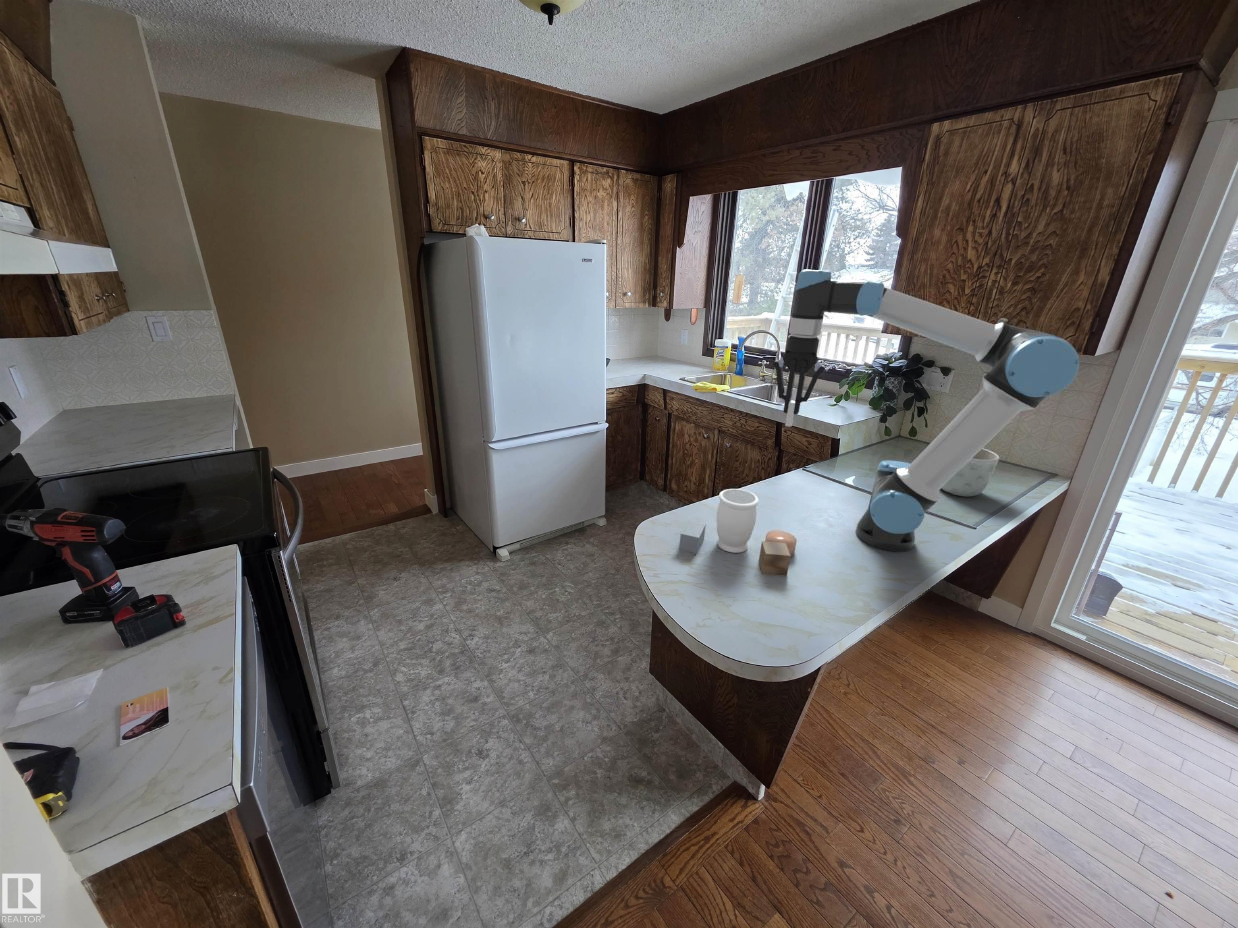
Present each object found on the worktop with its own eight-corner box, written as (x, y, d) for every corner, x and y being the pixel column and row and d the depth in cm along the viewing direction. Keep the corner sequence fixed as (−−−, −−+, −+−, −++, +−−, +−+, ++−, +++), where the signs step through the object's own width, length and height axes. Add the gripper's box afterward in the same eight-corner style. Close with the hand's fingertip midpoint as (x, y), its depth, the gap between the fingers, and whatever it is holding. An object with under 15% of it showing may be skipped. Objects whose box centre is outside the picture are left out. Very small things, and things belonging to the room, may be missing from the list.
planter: (977, 506, 167) (991, 464, 161) (922, 489, 179) (934, 449, 173) (991, 493, 178) (1005, 453, 172) (939, 478, 189) (950, 440, 184)
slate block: (704, 540, 140) (705, 524, 139) (697, 553, 134) (699, 537, 132) (686, 536, 142) (688, 520, 140) (679, 549, 135) (680, 533, 133)
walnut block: (782, 562, 131) (785, 543, 129) (786, 576, 125) (790, 555, 123) (758, 560, 131) (761, 541, 129) (762, 574, 126) (765, 553, 123)
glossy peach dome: (796, 547, 138) (798, 534, 137) (792, 561, 132) (794, 548, 130) (766, 540, 142) (768, 527, 140) (761, 553, 135) (763, 540, 133)
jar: (752, 558, 132) (760, 507, 127) (712, 552, 134) (718, 502, 128) (750, 538, 142) (757, 490, 136) (713, 533, 144) (719, 486, 138)
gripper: (832, 336, 126) (815, 425, 135) (780, 331, 131) (766, 418, 140) (830, 339, 120) (812, 433, 129) (774, 334, 125) (761, 424, 134)
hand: (788, 425), depth 134 cm, fingers closed
